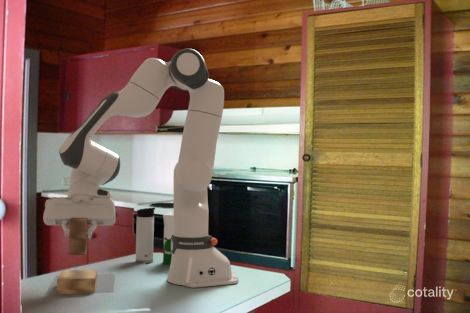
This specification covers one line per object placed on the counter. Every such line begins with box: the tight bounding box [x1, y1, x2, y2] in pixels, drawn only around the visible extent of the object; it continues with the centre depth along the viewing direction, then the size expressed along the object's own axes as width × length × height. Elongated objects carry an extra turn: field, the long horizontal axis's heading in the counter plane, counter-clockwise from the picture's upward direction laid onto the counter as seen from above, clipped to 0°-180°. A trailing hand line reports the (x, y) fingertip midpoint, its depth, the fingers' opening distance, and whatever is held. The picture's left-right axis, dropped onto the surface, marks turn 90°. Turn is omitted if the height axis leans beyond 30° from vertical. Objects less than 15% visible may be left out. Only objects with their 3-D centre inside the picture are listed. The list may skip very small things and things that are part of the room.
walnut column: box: [68, 218, 89, 256], centre depth 133 cm, size 4×4×10 cm
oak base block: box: [56, 269, 98, 295], centre depth 133 cm, size 10×10×4 cm
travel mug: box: [135, 206, 156, 264], centre depth 171 cm, size 6×7×20 cm
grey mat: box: [44, 273, 116, 296], centre depth 138 cm, size 18×20×1 cm
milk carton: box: [162, 211, 174, 265], centre depth 170 cm, size 9×9×20 cm
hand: (78, 235), depth 132 cm, fingers closed on walnut column, 4 cm apart
